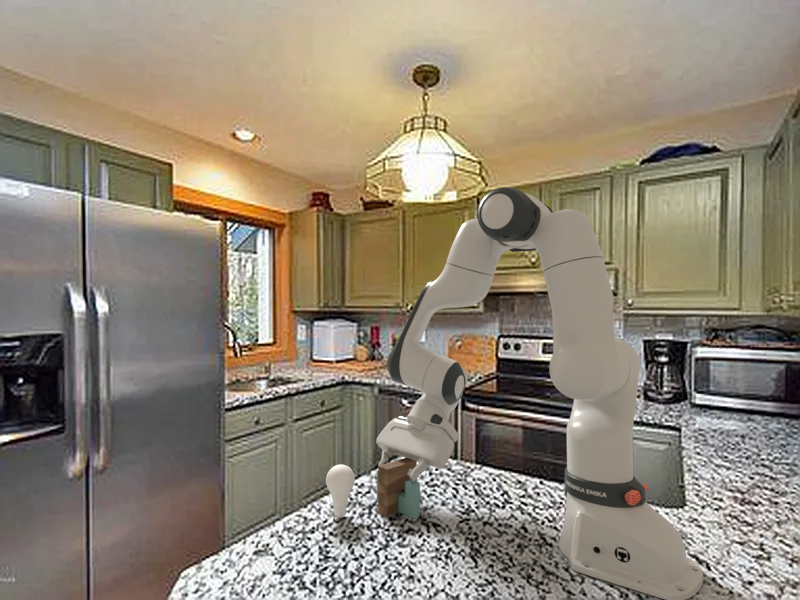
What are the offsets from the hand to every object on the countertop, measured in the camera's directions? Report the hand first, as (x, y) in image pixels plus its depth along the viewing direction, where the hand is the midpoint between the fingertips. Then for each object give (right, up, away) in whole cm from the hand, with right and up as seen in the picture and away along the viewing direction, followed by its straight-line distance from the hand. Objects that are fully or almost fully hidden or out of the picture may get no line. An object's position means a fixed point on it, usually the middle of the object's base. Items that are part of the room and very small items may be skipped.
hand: (395, 473), depth 100 cm
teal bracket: (0, -8, 0) cm, 8 cm away
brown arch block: (+1, -8, 0) cm, 8 cm away
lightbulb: (-12, -8, -4) cm, 15 cm away
